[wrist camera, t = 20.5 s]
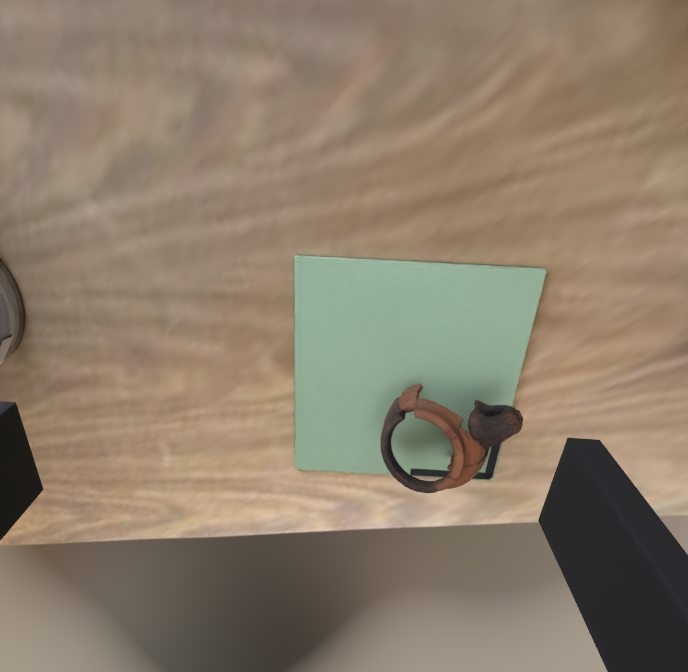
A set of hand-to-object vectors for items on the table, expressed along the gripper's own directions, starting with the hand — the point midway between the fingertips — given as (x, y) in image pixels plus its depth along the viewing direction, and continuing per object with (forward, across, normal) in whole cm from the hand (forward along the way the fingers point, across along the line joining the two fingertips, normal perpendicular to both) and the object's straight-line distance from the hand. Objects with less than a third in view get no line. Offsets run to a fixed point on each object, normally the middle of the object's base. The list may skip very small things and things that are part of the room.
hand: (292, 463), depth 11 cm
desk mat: (+26, +7, -13) cm, 30 cm away
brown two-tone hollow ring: (+26, +11, -16) cm, 33 cm away
